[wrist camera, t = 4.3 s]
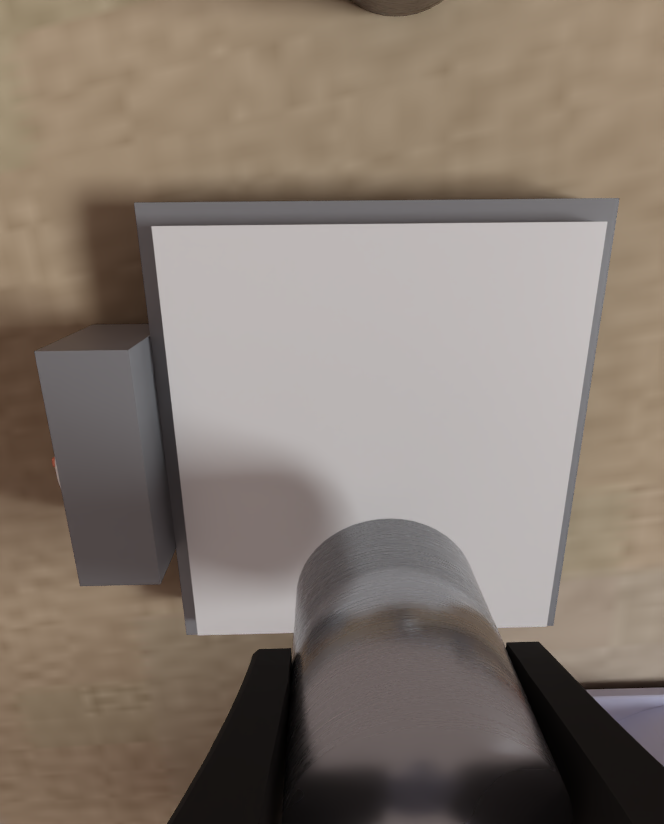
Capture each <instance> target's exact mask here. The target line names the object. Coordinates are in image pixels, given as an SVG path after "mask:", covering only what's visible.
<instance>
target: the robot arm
mask: <svg viewBox="0 0 664 824" xmlns="http://www.w3.org/2000/svg"><path fill="white" fill-rule="evenodd" d="M506 650H507V652H508V655H509V657H510V659H511V662H512V664H513V666H514V669H515V671H516V673H517V676H518V678H519V680H520V683H521V685H522V687H523V690H524V692H525V694H526V697H527V699H528V701H529V703H530V706H531V708H532V710H533V713H534V715H535V717H536V720H537V722H538V724H539V727H540V729H541V731H542V734H543V736H544V738H545V741H546V743H547V745H548V747H549V750H550V752H551V754H552V757H553V759H554V761H555V764H556V766H557V768H558V771H559V773H560V775H561V778H562V780H563V782H564V785H565V787H566V789H567V792H568V794H569V796H570V800H571V805H572V809H573V824H664V687H661V688H625V689H589V690H585V689H584V688H583V687H582V686H581V685H580V684H579V683H578V682H577V681H576V680H575V679H574V678H573V677H572V676H571V675H570V673H569V672H568V671H567V670H566V669H565V668H564V667H563V666H562V665H561V664H560V663H559V662H558V661H557V660H556V659H555V658H554V657H553V656H552V655H551V654H550V653H549V652H548V651H547V650H546V649H545V648H544V647H543V646H542V645H541V644H540V643H539V642H510V643H506ZM291 670H292V655H291V648H287V649H259V650H257V651H256V652H255V653H254V654H253V656H252V659H251V662H250V665H249V668H248V671H247V673H246V676H245V678H244V681H243V683H242V685H241V688H240V690H239V692H238V695H237V697H236V699H235V701H234V703H233V705H232V708H231V710H230V712H229V714H228V716H227V718H226V720H225V722H224V724H223V726H222V728H221V730H220V732H219V734H218V736H217V737H216V739H215V741H214V743H213V745H212V747H211V749H210V751H209V753H208V755H207V757H206V758H205V760H204V762H203V764H202V766H201V767H200V769H199V771H198V772H197V774H196V776H195V778H194V779H193V781H192V783H191V785H190V786H189V788H188V790H187V791H186V793H185V795H184V797H183V798H182V800H181V802H180V803H179V805H178V807H177V808H176V810H175V812H174V813H173V815H172V816H171V818H170V820H169V821H168V823H167V824H281V822H282V806H283V791H284V775H285V760H286V745H287V730H288V716H289V701H290V685H291Z"/></svg>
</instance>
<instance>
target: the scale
mask: <svg viewBox="0 0 664 824" xmlns="http://www.w3.org/2000/svg"><path fill="white" fill-rule="evenodd" d="M618 204H619V198H584V199H475V200H367V201H258V202H150V203H134V207H135V215H136V223H137V231H138V239H139V248H140V256H141V264H142V272H143V280H144V289H145V297H146V305H147V313H148V321H149V324H96V325H91V326H89V327H86V328H84V329H82V330H80V331H78V332H75V333H73V334H71V335H69V336H67V337H64V338H62V339H60V340H58V341H56V342H54V343H51V344H49V345H47V346H45V347H43V348H40V349H38V350H36V351H34V353H35V358H36V363H37V368H38V373H39V378H40V383H41V389H42V394H43V399H44V404H45V409H46V414H47V419H48V424H49V430H50V435H51V440H52V445H53V450H54V455H55V457H54V458H52V464H53V467H55V469H56V475H57V479H58V482H59V485H60V488H61V491H62V496H63V501H64V506H65V511H66V516H67V522H68V527H69V532H70V537H71V542H72V547H73V552H74V557H75V563H76V568H77V573H78V578H79V583H80V586H106V585H149V584H161V582H162V579H163V577H164V575H165V572H166V570H167V568H168V566H169V563H170V561H171V559H172V556H173V554H174V552H175V549H176V551H177V559H178V568H179V576H180V584H181V592H182V600H183V609H184V617H185V625H186V633H187V635H230V634H270V633H294V622H295V606H296V592H297V584H298V580H299V576H300V574H301V571H302V569H303V567H304V565H305V563H306V562H307V560H308V558H309V557H310V556H311V554H312V553H313V552H314V551H315V549H316V548H318V547H319V546H320V545H321V544H322V543H323V542H324V541H325V540H327V539H328V538H329V537H331V536H332V535H334V534H335V533H337V532H339V531H341V530H342V529H345V528H347V527H349V526H352V525H354V524H358V523H361V522H365V521H370V520H376V519H390V518H391V519H404V520H410V521H415V522H418V523H421V524H424V525H427V526H429V527H432V528H434V529H436V530H438V531H439V532H441V533H442V534H444V535H446V536H447V537H448V538H449V539H451V540H452V541H453V542H454V543H455V544H456V545H457V546H458V547H459V548H460V550H461V551H462V552H463V554H464V555H465V557H466V558H467V560H468V562H469V565H470V567H471V569H472V571H473V574H474V576H475V578H476V581H477V583H478V585H479V588H480V590H481V592H482V595H483V597H484V599H485V601H486V604H487V606H488V608H489V611H490V613H491V615H492V618H493V620H494V622H495V625H496V627H497V628H508V627H547V626H553V624H554V617H555V611H556V604H557V598H558V591H559V585H560V579H561V572H562V566H563V559H564V553H565V546H566V540H567V533H568V527H569V521H570V514H571V508H572V501H573V495H574V488H575V482H576V475H577V469H578V462H579V456H580V450H581V443H582V437H583V430H584V424H585V417H586V411H587V404H588V398H589V391H590V385H591V379H592V372H593V366H594V359H595V353H596V346H597V340H598V333H599V327H600V321H601V314H602V308H603V301H604V295H605V288H606V282H607V275H608V269H609V262H610V256H611V250H612V243H613V237H614V230H615V224H616V217H617V211H618Z"/></svg>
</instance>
